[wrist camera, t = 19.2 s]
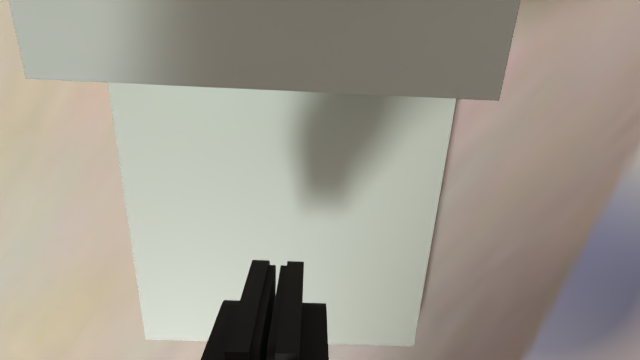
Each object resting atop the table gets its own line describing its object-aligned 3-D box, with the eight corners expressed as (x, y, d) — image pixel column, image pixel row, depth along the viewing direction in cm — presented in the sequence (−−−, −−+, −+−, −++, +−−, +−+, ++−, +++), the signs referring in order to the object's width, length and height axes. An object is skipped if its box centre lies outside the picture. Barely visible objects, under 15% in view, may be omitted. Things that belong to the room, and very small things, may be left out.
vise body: (407, 327, 18) (450, 462, 12) (156, 320, 18) (80, 456, 12) (517, -357, 10) (791, -885, 4) (61, -394, 10) (-306, -1020, 4)
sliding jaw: (433, 78, 13) (498, 100, 8) (130, 63, 12) (26, 78, 8) (451, -46, 11) (541, -99, 7) (114, -65, 11) (-22, -134, 7)
